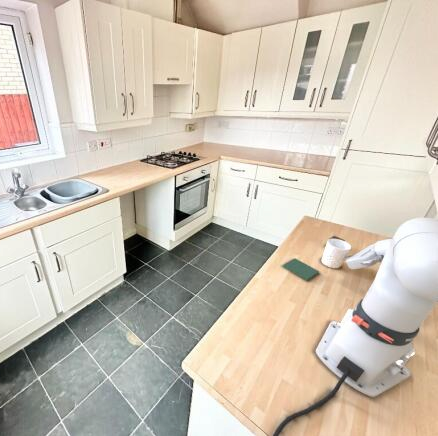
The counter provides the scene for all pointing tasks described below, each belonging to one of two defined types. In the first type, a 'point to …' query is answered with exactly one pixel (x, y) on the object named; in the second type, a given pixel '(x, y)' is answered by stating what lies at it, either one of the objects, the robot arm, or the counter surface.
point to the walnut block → (336, 238)
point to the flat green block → (301, 269)
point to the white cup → (335, 253)
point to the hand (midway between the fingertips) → (346, 259)
